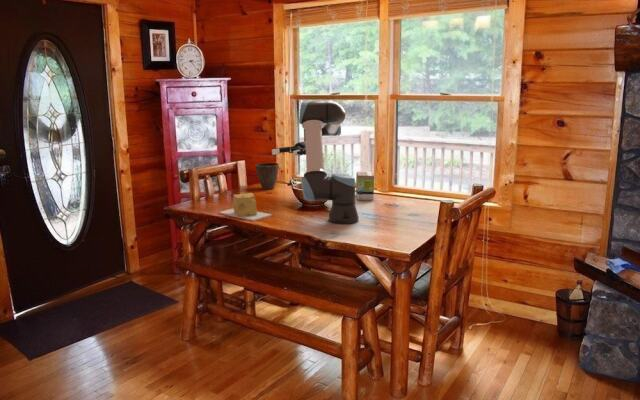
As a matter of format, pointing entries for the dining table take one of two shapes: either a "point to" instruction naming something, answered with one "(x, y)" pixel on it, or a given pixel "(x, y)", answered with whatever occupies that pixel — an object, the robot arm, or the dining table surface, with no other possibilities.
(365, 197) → the tea box
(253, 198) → the cheese
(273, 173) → the plant pot
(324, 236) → the dining table surface
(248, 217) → the mat
